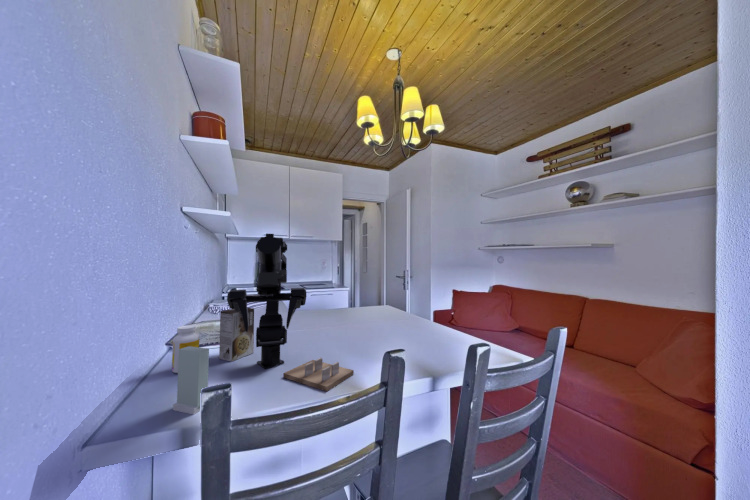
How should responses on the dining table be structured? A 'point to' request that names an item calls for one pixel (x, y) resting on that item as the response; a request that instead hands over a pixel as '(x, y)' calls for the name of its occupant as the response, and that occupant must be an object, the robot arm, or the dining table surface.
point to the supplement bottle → (183, 342)
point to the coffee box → (235, 335)
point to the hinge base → (319, 374)
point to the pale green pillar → (191, 378)
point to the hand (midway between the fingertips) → (267, 329)
